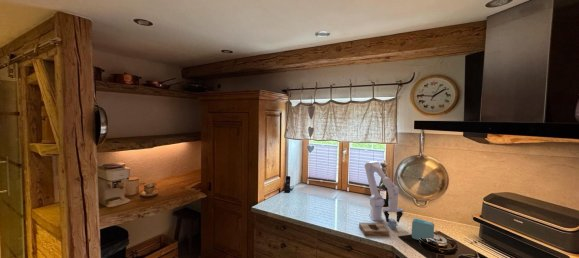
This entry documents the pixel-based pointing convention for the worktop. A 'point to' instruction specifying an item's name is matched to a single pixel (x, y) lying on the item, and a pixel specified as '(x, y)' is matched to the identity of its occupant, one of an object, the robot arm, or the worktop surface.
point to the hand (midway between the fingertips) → (392, 221)
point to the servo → (392, 223)
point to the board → (369, 229)
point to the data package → (422, 229)
